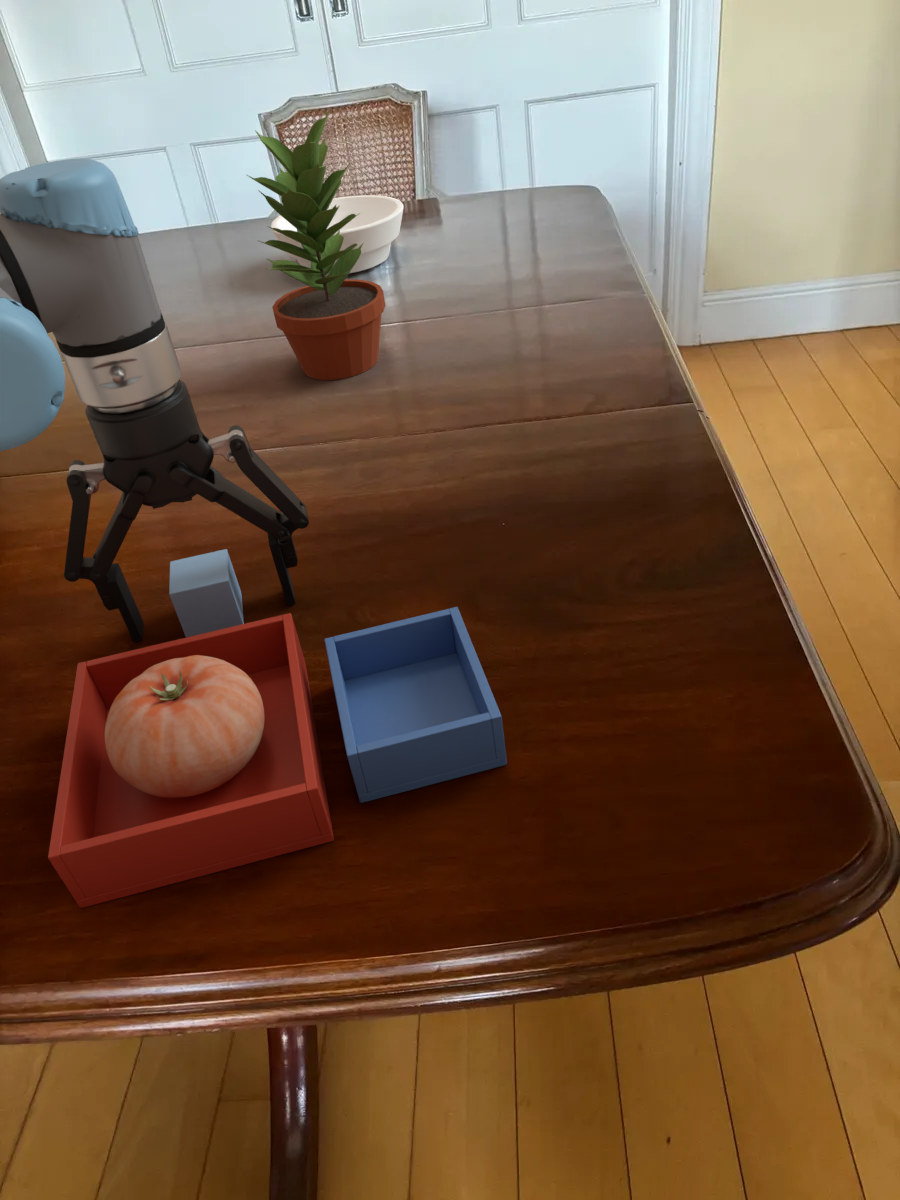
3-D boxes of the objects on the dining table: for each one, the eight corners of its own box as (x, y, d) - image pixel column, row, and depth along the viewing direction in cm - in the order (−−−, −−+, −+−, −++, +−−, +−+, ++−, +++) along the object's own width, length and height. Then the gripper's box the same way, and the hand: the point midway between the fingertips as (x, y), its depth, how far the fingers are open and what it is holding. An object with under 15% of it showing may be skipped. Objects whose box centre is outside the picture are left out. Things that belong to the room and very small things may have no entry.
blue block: (186, 639, 77) (168, 594, 74) (186, 606, 81) (169, 561, 78) (244, 626, 78) (228, 580, 75) (241, 593, 82) (226, 548, 78)
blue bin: (360, 803, 61) (346, 755, 58) (336, 684, 70) (324, 638, 67) (507, 765, 62) (501, 716, 59) (464, 653, 71) (457, 606, 69)
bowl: (424, 240, 161) (418, 191, 155) (389, 285, 144) (381, 231, 139) (308, 246, 166) (298, 198, 161) (261, 290, 149) (249, 238, 144)
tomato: (143, 719, 69) (106, 640, 64) (282, 700, 68) (256, 619, 64) (110, 833, 60) (65, 753, 55) (270, 812, 60) (238, 729, 55)
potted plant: (263, 371, 122) (200, 127, 103) (352, 334, 129) (308, 99, 110) (324, 400, 112) (266, 137, 94) (417, 358, 119) (380, 105, 101)
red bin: (80, 908, 57) (47, 858, 53) (102, 712, 71) (77, 662, 68) (334, 841, 58) (317, 787, 55) (305, 662, 73) (290, 612, 70)
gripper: (-50, 451, 62) (68, 675, 75) (304, 376, 65) (358, 605, 78) (-29, 406, 68) (77, 621, 81) (294, 339, 70) (346, 558, 84)
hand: (215, 614), depth 79 cm, fingers open, 13 cm apart
